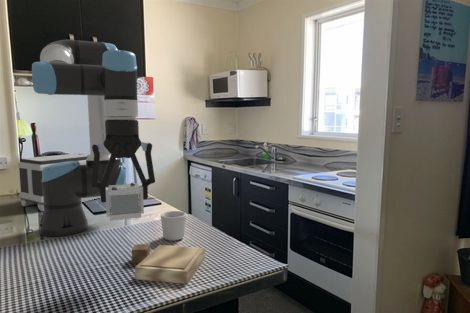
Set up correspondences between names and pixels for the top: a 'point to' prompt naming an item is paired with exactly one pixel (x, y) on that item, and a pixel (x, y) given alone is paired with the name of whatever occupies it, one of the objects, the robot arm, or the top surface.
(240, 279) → the top surface
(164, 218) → the cup
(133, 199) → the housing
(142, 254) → the walnut block
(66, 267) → the top surface
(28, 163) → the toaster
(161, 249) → the tan square tray
